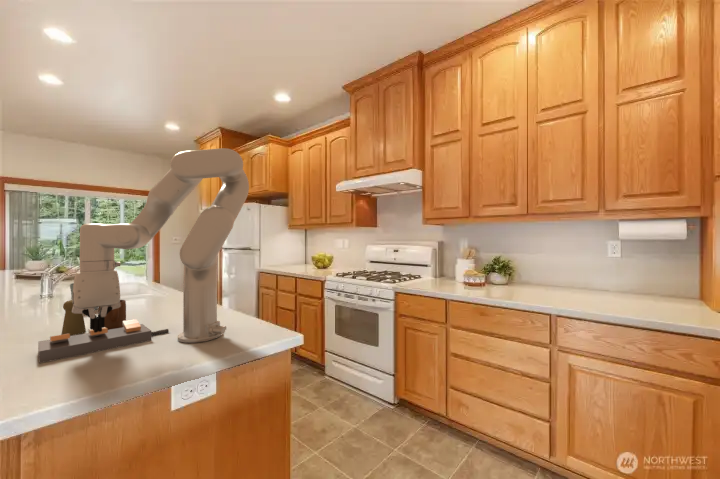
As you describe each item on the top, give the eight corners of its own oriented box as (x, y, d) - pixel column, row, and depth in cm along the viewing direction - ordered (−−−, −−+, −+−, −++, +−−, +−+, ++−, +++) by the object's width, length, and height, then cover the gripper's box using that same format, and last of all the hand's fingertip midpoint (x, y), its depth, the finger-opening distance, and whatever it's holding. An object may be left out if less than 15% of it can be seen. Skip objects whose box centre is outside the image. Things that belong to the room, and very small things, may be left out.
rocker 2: (136, 324, 99) (136, 318, 99) (140, 331, 95) (141, 326, 95) (122, 326, 97) (122, 321, 97) (126, 334, 93) (126, 328, 93)
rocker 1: (68, 340, 88) (67, 333, 88) (69, 340, 84) (69, 333, 84) (50, 343, 85) (50, 336, 85) (51, 343, 81) (51, 336, 81)
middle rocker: (104, 332, 93) (104, 326, 94) (107, 334, 89) (107, 328, 90) (88, 335, 91) (88, 329, 91) (91, 337, 87) (91, 331, 87)
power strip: (163, 329, 107) (163, 320, 107) (173, 335, 100) (173, 326, 100) (38, 352, 85) (38, 341, 85) (39, 363, 78) (39, 351, 78)
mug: (130, 331, 105) (130, 303, 105) (101, 336, 100) (101, 306, 100) (123, 324, 113) (123, 298, 113) (96, 328, 108) (96, 301, 108)
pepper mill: (71, 330, 105) (71, 298, 105) (90, 330, 106) (90, 298, 106) (55, 336, 99) (55, 302, 99) (76, 335, 100) (76, 301, 100)
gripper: (126, 264, 96) (126, 323, 96) (59, 267, 85) (59, 334, 85) (132, 266, 91) (132, 328, 91) (62, 269, 80) (62, 340, 80)
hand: (97, 330), depth 88 cm, fingers closed
